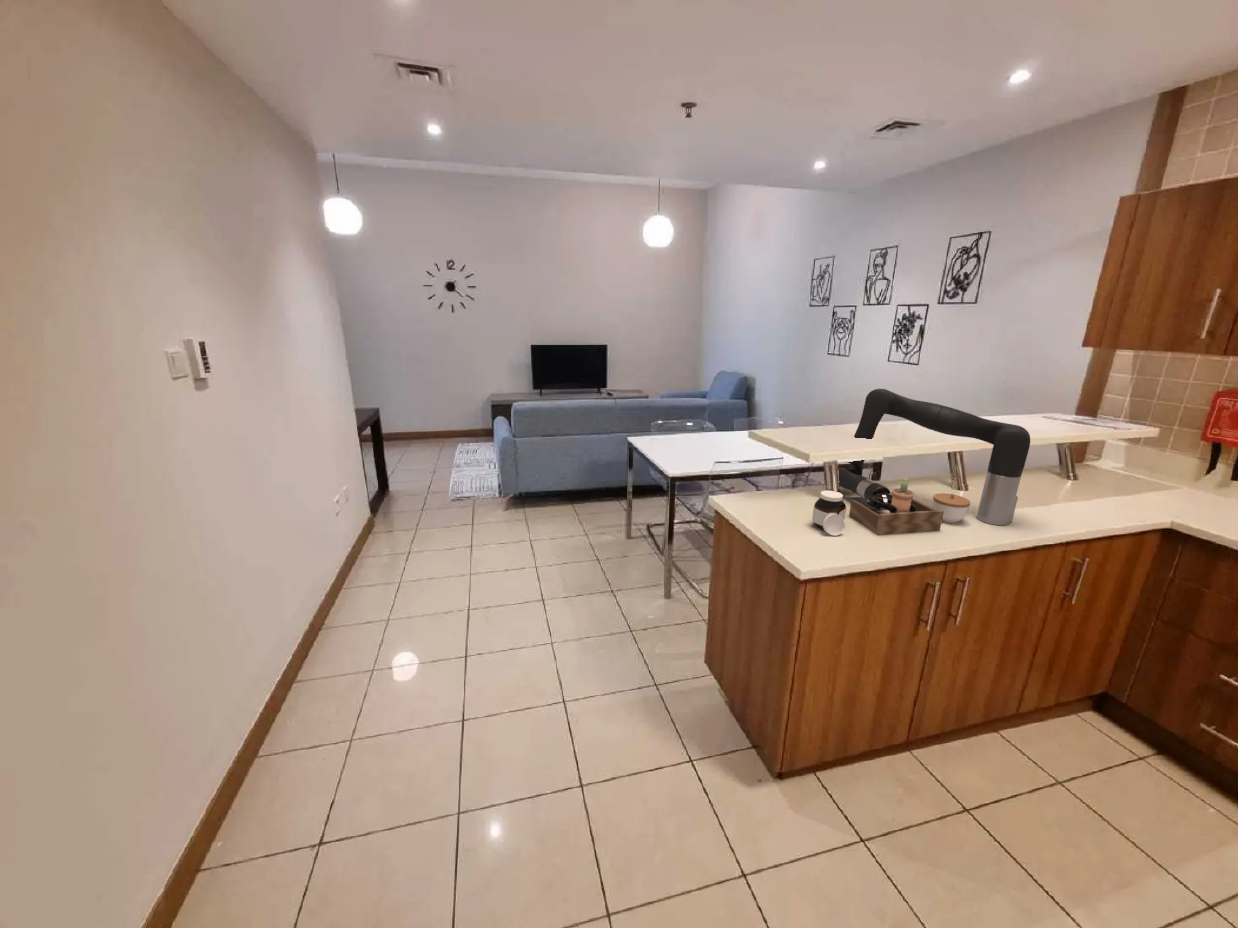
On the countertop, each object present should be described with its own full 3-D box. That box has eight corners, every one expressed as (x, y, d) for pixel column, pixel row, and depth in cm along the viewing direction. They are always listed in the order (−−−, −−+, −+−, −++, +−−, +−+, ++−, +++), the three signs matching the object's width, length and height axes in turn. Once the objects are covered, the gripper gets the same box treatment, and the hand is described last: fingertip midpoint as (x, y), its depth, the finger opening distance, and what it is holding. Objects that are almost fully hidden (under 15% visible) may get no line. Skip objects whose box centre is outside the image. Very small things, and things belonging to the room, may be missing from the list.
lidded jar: (932, 510, 181) (937, 486, 178) (967, 518, 175) (973, 493, 172) (926, 520, 173) (932, 495, 170) (963, 528, 167) (969, 502, 164)
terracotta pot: (898, 521, 172) (907, 474, 167) (911, 528, 166) (921, 480, 161) (882, 522, 171) (890, 475, 166) (894, 530, 165) (903, 481, 160)
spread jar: (828, 519, 174) (832, 488, 170) (856, 531, 164) (861, 498, 161) (803, 526, 168) (807, 493, 165) (831, 539, 159) (836, 505, 155)
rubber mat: (880, 496, 194) (881, 495, 194) (902, 508, 183) (902, 507, 183) (847, 498, 192) (848, 497, 192) (867, 510, 181) (867, 509, 181)
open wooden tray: (905, 512, 180) (909, 493, 178) (939, 530, 165) (944, 511, 163) (849, 515, 177) (851, 497, 175) (878, 535, 162) (881, 515, 159)
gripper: (856, 483, 178) (887, 500, 162) (892, 481, 180) (926, 498, 165) (853, 503, 180) (883, 521, 165) (889, 500, 183) (922, 519, 167)
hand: (905, 510), depth 165 cm, fingers open, 6 cm apart
